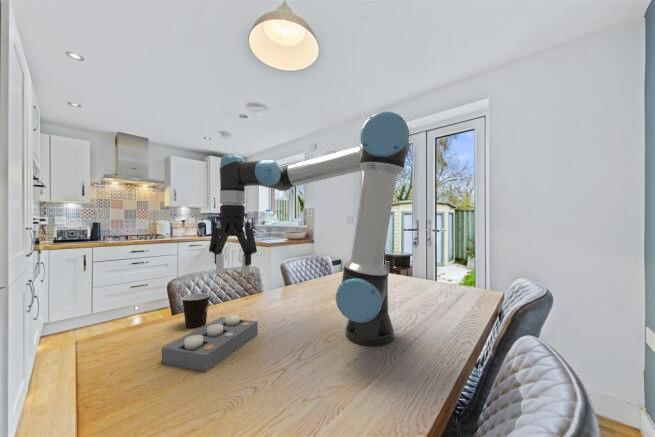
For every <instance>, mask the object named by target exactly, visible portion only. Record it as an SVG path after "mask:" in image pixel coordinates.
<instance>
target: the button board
mask: <svg viewBox="0 0 655 437" xmlns="http://www.w3.org/2000/svg"><path fill="white" fill-rule="evenodd" d="M226 317H227V316H226ZM226 317H225V316H221V317H219V318H217V319H214V320H212V321H211V322H209V323H206V325H204V326H202V327H200V328H196V329H194V330H193V331H191V332H189V333H187V334H185V335H183V336H181V337H179V338H178V339H175V340H174V341H172V342H170V343H167V344H166V345H164V346H162V347H161V363H162V364H165V365H171V366H175V367H181V368H184V369H189V370H194V371H200V372H208V371H209V370H211V369H212V368H214V367H215V366H216V365H217V364H219V363H220V362H221V361H223V360H224V359H225V358H227V357H228V356H229V355H231V354H232V353H234V352H235V351H237V350H238V349H239V348H240V347H242V346H243V345H245V344H246V343H247V342H249V341H250V340H251V339H253V338H254V337H255V336H256V335H258V333H259V332H258V326H259V324H258V322H259V321H255V320H249V319H242V318H240V323H239V324H238V325H236V326H226V325H225V318H226ZM213 324H222V325H223V334H221V335H219V336H216V337H209V336H207V327H208V326H210V325H213ZM192 335H202V336H203V346H201V347H200V348H197V349H193V350H186V349H185V348H184V340H185V338H187V337H189V336H192Z"/></svg>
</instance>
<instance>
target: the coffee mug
mask: <svg viewBox="0 0 655 437" xmlns="http://www.w3.org/2000/svg"><path fill="white" fill-rule="evenodd" d="M181 299H182V300H181V301H182V308H183V314H184V321H185V322H184V323H185V328H186V329H192V330H193V329H194V330H195V329H199V328H201V327H203V326H205V325H207V318H208V311H209V303H210V302H209V300H210V293H205V292H204V293H203V292H202V293H201V292H200V293H191V294H187V295H184V296H183V297H182V298H181Z"/></svg>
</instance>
